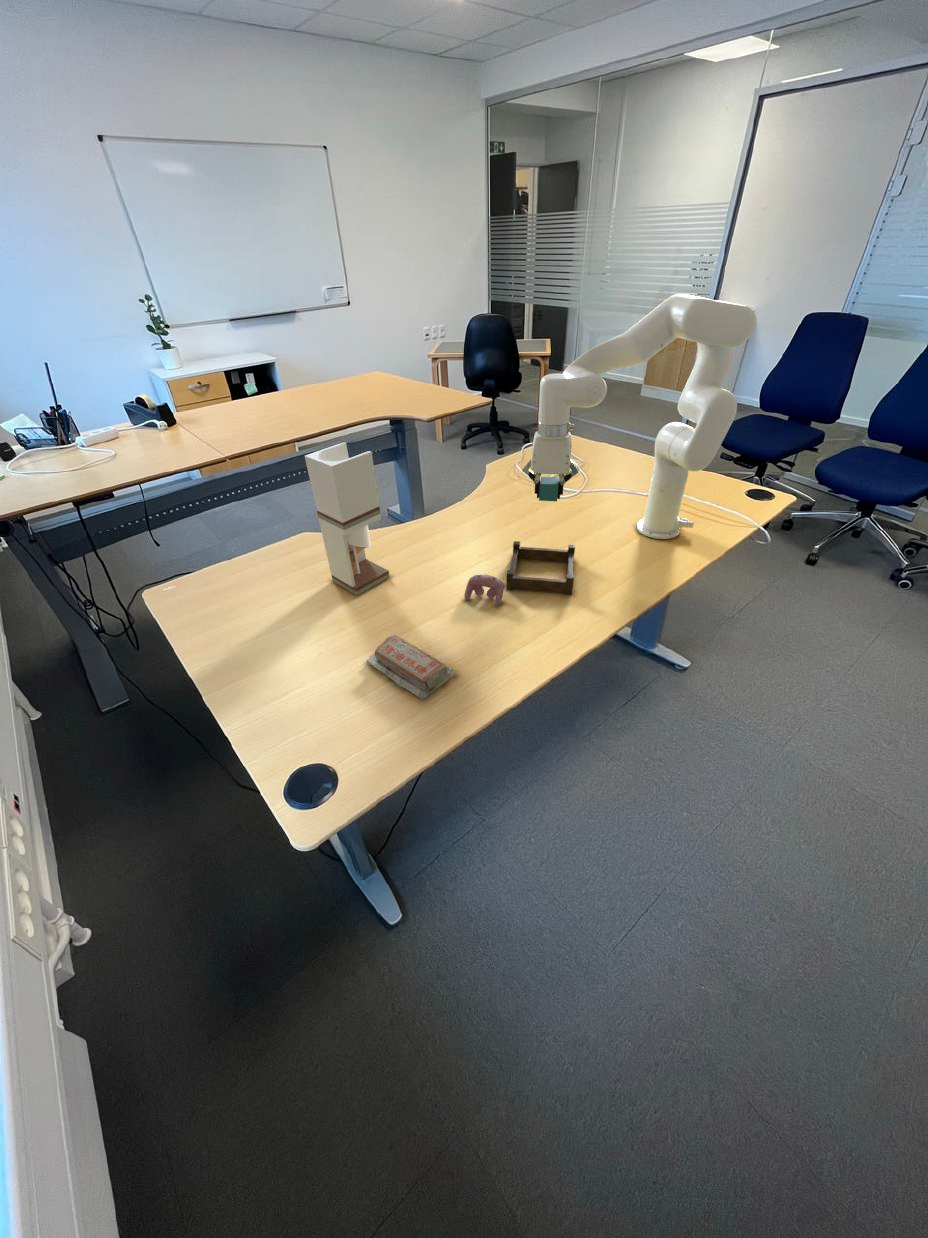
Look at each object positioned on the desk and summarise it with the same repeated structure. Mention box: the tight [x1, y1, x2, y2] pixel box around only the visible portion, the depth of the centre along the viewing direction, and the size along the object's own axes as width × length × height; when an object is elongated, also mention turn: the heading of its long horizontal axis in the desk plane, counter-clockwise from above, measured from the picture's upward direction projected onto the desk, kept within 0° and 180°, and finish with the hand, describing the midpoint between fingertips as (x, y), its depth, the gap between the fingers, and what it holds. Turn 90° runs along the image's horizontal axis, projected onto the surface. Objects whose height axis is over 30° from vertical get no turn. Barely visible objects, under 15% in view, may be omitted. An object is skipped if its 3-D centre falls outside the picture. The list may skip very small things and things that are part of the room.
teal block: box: [538, 476, 559, 502], centre depth 139 cm, size 5×5×5 cm
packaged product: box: [365, 634, 455, 701], centre depth 112 cm, size 18×5×10 cm
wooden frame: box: [505, 540, 576, 596], centre depth 140 cm, size 17×17×5 cm
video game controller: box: [464, 574, 506, 607], centre depth 132 cm, size 10×5×7 cm, turn 71°
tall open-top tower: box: [304, 441, 390, 596], centre depth 132 cm, size 11×11×35 cm
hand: (548, 495), depth 141 cm, fingers closed on teal block, 4 cm apart
